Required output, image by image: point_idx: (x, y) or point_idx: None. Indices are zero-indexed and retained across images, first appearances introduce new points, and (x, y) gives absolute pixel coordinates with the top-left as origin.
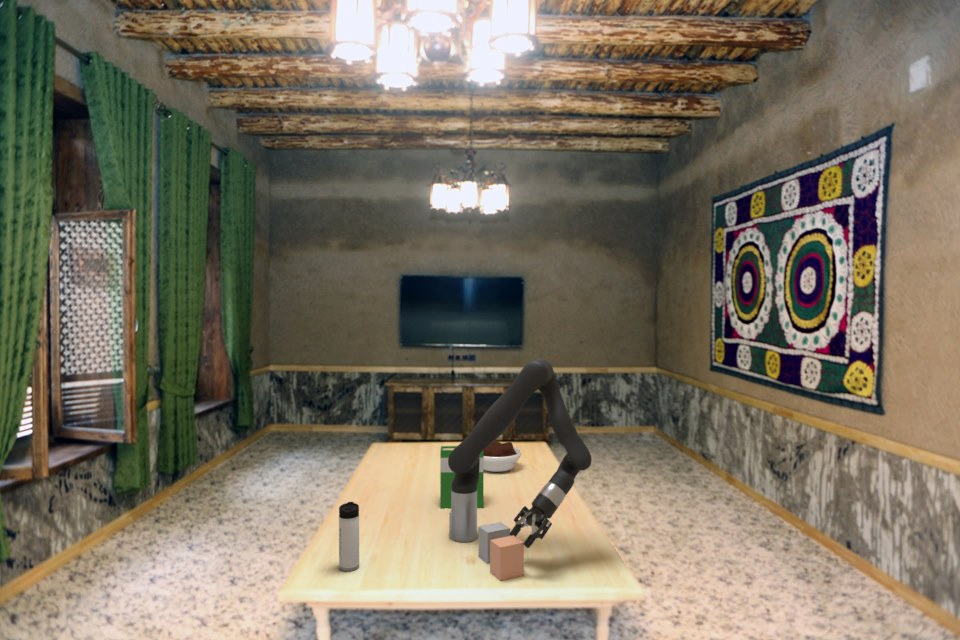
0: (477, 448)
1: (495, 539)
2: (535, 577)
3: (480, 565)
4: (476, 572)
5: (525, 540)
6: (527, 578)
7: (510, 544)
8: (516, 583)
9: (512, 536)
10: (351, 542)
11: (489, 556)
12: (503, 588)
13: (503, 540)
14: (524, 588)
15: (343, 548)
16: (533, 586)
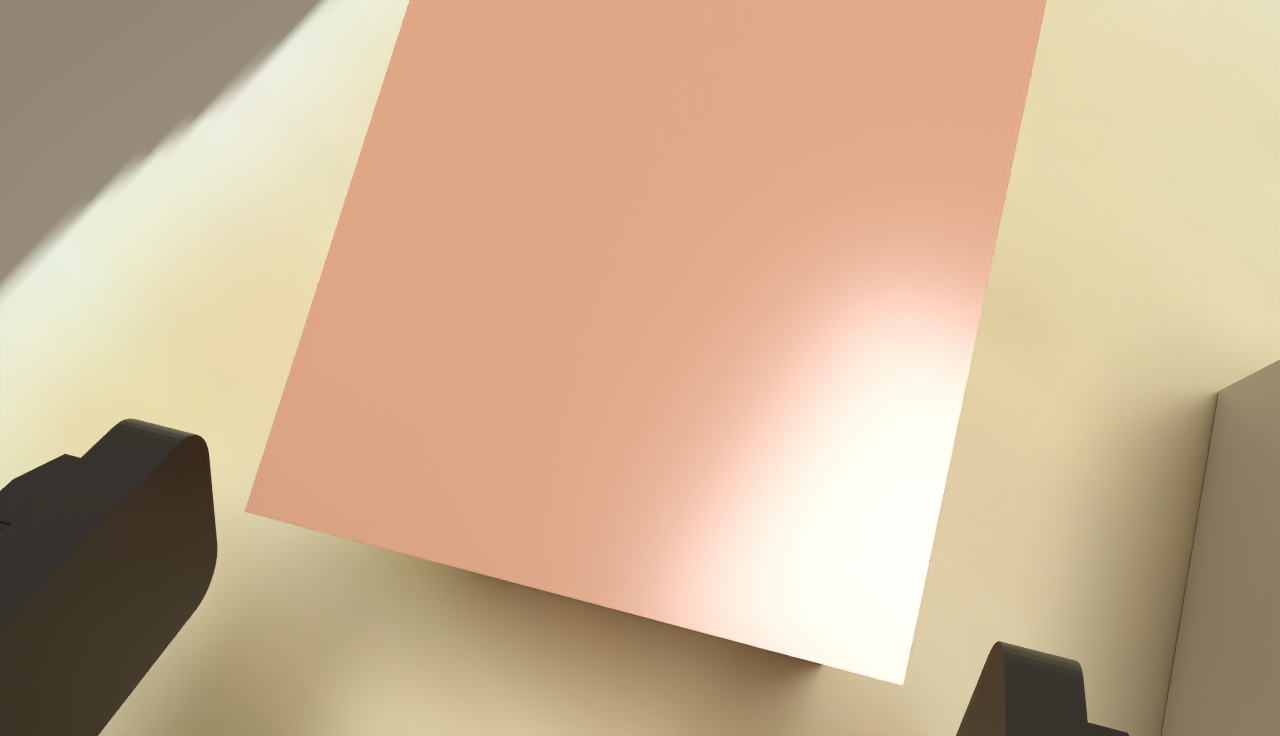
0: None
1: (1007, 10)
2: (271, 658)
3: (1246, 258)
4: (1065, 45)
5: (127, 491)
6: None
7: (427, 96)
8: None
9: (839, 580)
10: None
11: (1266, 402)
12: (385, 22)
13: (786, 137)
14: (164, 250)
15: None
16: (103, 398)
